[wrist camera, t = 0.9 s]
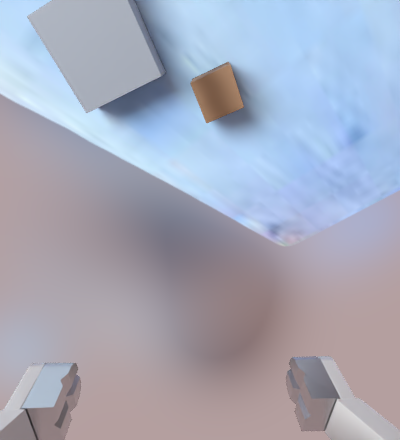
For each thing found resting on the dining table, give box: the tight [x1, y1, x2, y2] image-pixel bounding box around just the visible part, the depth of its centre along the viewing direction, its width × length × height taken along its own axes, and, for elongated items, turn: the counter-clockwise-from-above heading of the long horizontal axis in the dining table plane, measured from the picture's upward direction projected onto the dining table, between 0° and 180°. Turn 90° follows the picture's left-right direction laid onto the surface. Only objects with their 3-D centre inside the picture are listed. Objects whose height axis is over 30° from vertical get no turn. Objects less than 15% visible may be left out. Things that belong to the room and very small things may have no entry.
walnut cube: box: [191, 62, 244, 123], centre depth 35 cm, size 5×5×5 cm
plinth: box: [27, 0, 166, 113], centre depth 33 cm, size 11×11×4 cm
